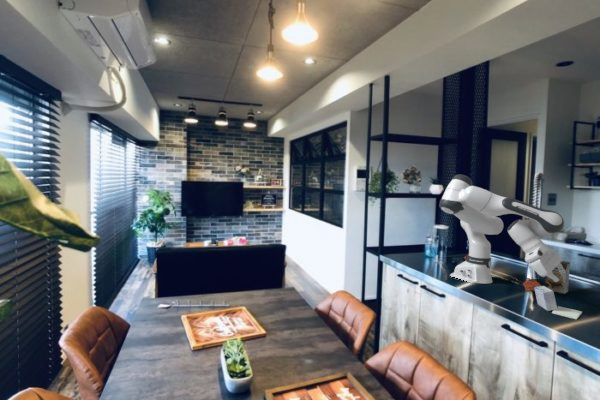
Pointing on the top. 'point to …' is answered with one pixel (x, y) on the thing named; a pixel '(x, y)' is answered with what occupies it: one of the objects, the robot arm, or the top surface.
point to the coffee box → (563, 281)
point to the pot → (531, 284)
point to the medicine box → (545, 298)
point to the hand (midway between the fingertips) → (560, 276)
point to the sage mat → (567, 312)
